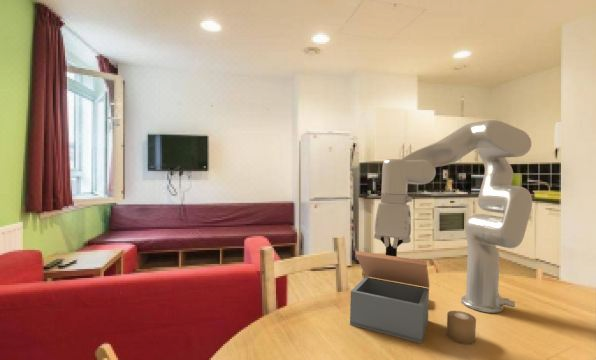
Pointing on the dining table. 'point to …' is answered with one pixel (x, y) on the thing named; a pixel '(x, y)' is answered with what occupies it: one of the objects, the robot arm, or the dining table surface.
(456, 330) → the brown squat cylinder
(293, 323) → the dining table surface
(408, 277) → the lid
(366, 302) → the box
